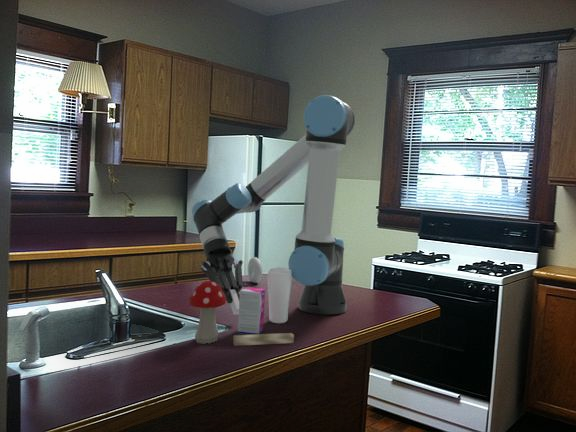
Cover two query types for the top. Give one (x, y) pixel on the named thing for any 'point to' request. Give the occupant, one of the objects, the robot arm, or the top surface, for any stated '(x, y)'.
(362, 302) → the top surface
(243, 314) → the supplement box
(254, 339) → the bar
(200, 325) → the decorative mushroom
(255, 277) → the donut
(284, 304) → the drinking glass
